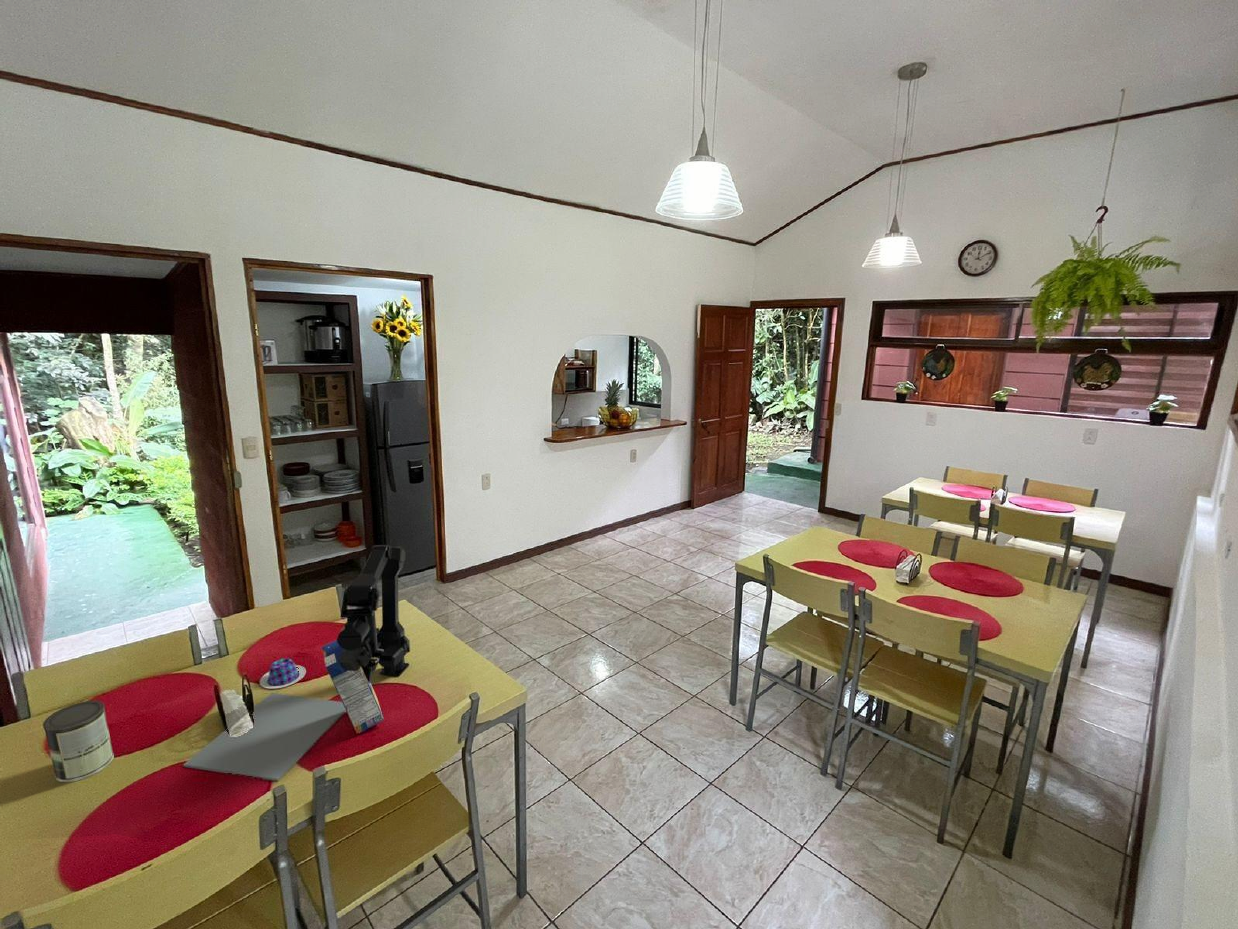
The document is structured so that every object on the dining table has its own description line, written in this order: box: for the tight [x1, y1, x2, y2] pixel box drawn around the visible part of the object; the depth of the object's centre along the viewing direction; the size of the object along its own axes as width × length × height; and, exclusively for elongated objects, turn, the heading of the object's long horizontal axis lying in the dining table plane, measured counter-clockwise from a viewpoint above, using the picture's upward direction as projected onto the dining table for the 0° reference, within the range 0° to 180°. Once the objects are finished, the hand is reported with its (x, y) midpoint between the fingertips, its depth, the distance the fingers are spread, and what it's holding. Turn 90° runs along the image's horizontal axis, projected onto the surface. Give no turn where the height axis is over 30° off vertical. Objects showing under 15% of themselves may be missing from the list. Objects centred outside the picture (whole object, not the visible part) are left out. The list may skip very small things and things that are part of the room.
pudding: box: [259, 658, 307, 689], centre depth 168 cm, size 12×12×5 cm
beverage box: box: [321, 639, 385, 735], centre depth 148 cm, size 7×11×22 cm, turn 31°
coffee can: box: [42, 700, 115, 783], centre depth 131 cm, size 10×10×14 cm
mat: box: [183, 692, 347, 782], centre depth 145 cm, size 28×25×1 cm
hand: (368, 682), depth 149 cm, fingers closed
